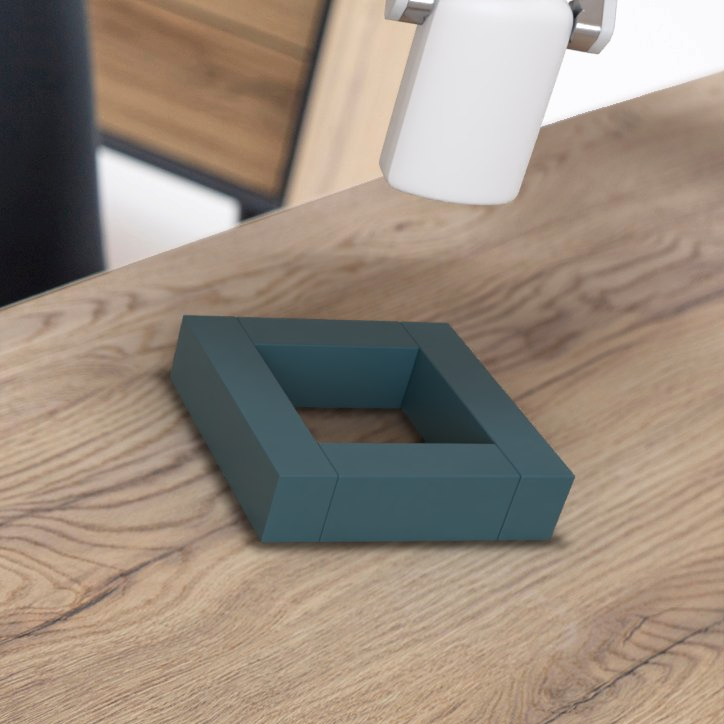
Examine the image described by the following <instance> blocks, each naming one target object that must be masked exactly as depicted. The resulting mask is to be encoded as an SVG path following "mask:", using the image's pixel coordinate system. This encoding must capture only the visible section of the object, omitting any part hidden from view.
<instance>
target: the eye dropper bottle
mask: <svg viewBox="0 0 724 724" xmlns="http://www.w3.org/2000/svg"><path fill="white" fill-rule="evenodd" d="M568 3H569V2H568V1H567V0H434V4H433V7H432V10H431V12H430V14H429V16H426V17H425V22H424V23H423V24H422V25H417V24H416V27H415V31H414V35H413V38H412V41H411V45H410V49H409V52H408V56H407V58H406V63H405V66H404V70H403V73H402V77H401V80H400V84H399V87H398V91H397V94H396V98H395V101H394V105H393V109H392V113H391V115H390V119H389V122H388V127H387V131H386V134H385V138H384V141H383V145H382V148H381V152H380V155H379V159H378V166H379V169H380V171H381V173H382V176H383V179H384V180H385V182H386V183H387V184H388V186H390V187H391V188H392V189H394V190H396V191H399V192H401V193H405V194H408V195H411V196H414V197H418V198H423V199H428V200H431V201H436V202H443V203H449V204H456V205H465V206H500V205H506V204H509V203H511V202H513V201H514V200H515V199H516V198H517V196H518V195H519V193H520V190H521V188H522V187H521V186H522V184H523V182H524V178H525V175H526V172H527V169H528V166H529V163H530V161H531V157H532V154H533V151H534V148H535V146H536V142H537V139H538V137H539V134H540V130H541V127H542V124H543V122H544V118H545V115H546V112H547V109H548V106H549V103H550V100H551V97H552V95H553V94H552V93H553V91H554V89H555V85H556V82H557V79H558V76H559V73H560V71H561V67H562V64H563V62H564V57H565V54H566V52H567V49H566V48H567V45H568V42H569V39H570V35H571V31H572V26H573V13H572V10H571V8H570V6H569V4H568Z"/></svg>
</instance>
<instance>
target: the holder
mask: <svg viewBox="0 0 724 724" xmlns="http://www.w3.org/2000/svg"><path fill="white" fill-rule="evenodd" d="M177 336H178V337H177V341H176V344H175V350H174V355H173V359H172V363H171V369H170V373H169V380H170V382H171V383H172V385H173V387H174V389H175V391H176V392H177V394H178V396H179V397H180V399H181V401H182V403H183V405H184V407H185V408H186V411H187V412H188V414H189V415H190V417H191V420H192V421H193V423H194V425H195V426H196V428H197V430H198V432H199V434H200V435H201V437H202V439H203V441H204V442H205V445H206V446H207V449H208V450H209V452H210V454H211V455H212V457H213V459H214V460H215V462H216V464H217V466H218V468H219V469H220V471H221V473H222V475H223V477H224V478H225V480H226V482H227V484H228V486H229V488H230V489H231V491H232V493H233V495H234V497H235V498H236V501H237V502H238V503H239V506H240V507H241V509H242V511H243V513H244V515H245V516H246V519H247V520H248V522H249V524H250V525H251V527H252V529H253V531H254V532H255V534H256V537H257V538H258V540H259V542H260V543H319V542H321V543H349V542H351V543H352V542H353V543H355V542H359V543H360V542H361V543H363V542H451V541H452V542H453V541H454V542H456V541H457V542H459V541H462V542H463V541H467V542H468V541H551V539H552V537H553V534H554V531H555V529H556V527H557V524H558V522H559V519H560V517H561V514H562V512H563V509H564V506H565V503H566V502H567V499H568V497H569V494H570V491H571V489H572V486H573V484H574V482H575V478H576V475H575V473H574V472H573V471H572V470H571V469H570V468H569V467H568V466H567V464H566V463H565V462H564V460H563V459H562V458H561V457H560V456H559V455H558V453H557V452H556V451H555V450H554V449H553V448H552V446H551V445H550V444H549V442H548V441H547V440H546V439H545V438H544V436H543V435H542V434H541V433H540V432H539V431H538V429H537V428H536V426H534V424H533V423H532V422H531V421H530V420H529V418H528V417H527V416H526V415H525V413H524V412H523V411H522V410H521V409H520V408H519V406H518V405H517V404H516V402H514V400H513V399H512V398H511V397H510V396H509V394H508V393H507V391H505V389H504V388H503V387H502V385H500V383H499V382H498V381H497V380H496V379H495V378H494V376H493V375H492V374H491V373H490V371H489V370H488V369H487V368H486V367H485V366H484V364H483V363H482V362H481V361H480V359H479V358H478V357H477V356H476V355H475V353H474V352H473V351H472V350H471V349H470V347H469V346H468V345H467V343H466V342H465V341H464V340H463V339H462V338H461V337H460V336H459V334H458V333H457V332H456V330H455V329H454V328H453V326H451V324H450V323H449V322H435V321H434V322H433V321H399V320H368V319H334V318H333V319H330V318H329V319H328V318H301V317H300V318H297V317H293V318H292V317H265V316H261V317H259V316H257V317H256V316H234V315H232V316H231V315H200V314H197V315H196V314H183V315H182V317H181V323H180V328H179V332H178V335H177ZM296 408H331V409H332V408H339V409H340V408H341V409H401V410H402V412H403V413H404V414H405V416H406V417H407V419H408V420H409V422H410V423H411V424H412V426H413V427H414V429H415V430H416V431H417V432H418V434H419V435H420V436H421V438H422V439H423V440H424V443H423V442H422V443H421V442H417V443H415V442H414V443H413V442H403V443H402V442H317V440H316V439H315V437H314V436H313V434H312V433H311V431H310V430H309V428H308V427H307V425H306V424H305V422H304V421H303V419H302V417H301V415H300V414H299V413H298V411H297V410H296Z"/></svg>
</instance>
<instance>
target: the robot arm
mask: <svg viewBox="0 0 724 724" xmlns="http://www.w3.org/2000/svg"><path fill="white" fill-rule="evenodd" d="M433 4H434V0H385V3H384V12H383V13H384V16H383V17H384V20H387V21H393V22H399V23H404V24H405V23H406V24H410V25H411V24H412V25H416V26H417V25H422V24H423V23H424V22H425V17H426V16H429V14H430V12H431V10H432V7H433ZM568 4H569V6H570V8H571V10H572V13H573V26H572V31H571V35H570V39H569V42H568V45H567V48H566V50H570V51H575V52H580V53H586V54H591V55H599V54H600V53H601V52H602V51H604V49H605V48H606V47H607V45H608V44H609V43H610V42H611V40H612V37H613V35H614V32H615V27H616V18H617V7H618V0H569V2H568Z"/></svg>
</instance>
